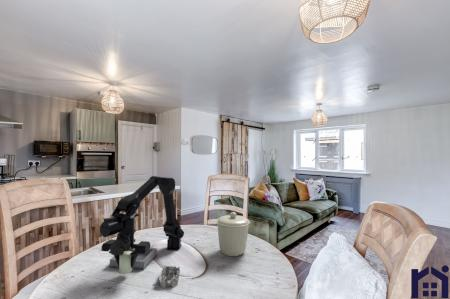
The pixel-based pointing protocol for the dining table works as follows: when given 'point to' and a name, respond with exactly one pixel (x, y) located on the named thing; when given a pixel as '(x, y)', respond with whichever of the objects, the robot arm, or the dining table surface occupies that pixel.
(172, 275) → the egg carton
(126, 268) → the pale green cylinder
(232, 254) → the canister
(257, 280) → the dining table surface
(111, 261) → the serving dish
